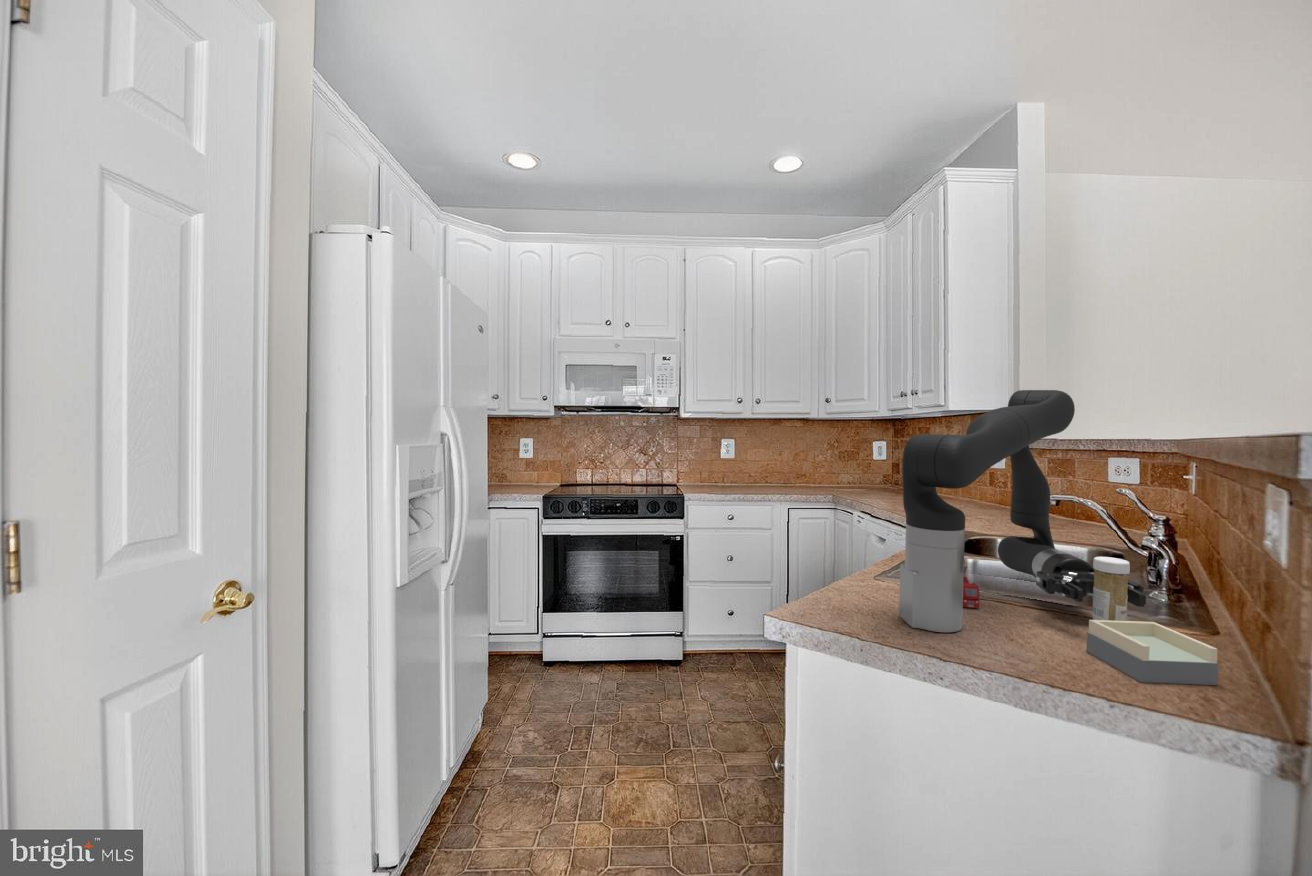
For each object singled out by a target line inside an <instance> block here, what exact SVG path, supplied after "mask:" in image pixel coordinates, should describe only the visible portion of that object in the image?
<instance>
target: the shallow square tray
mask: <svg viewBox="0 0 1312 876" xmlns="http://www.w3.org/2000/svg"><path fill="white" fill-rule="evenodd" d="M1218 651H1219V649H1218V648H1216V647H1215V646H1212V645H1209V644H1208V643H1204V642H1202V641H1200V640H1197V639H1195V638H1192V637H1190V636H1188V635H1186V634H1184V633H1181V632H1178V631H1176V630H1173V629H1171V628H1169V627H1167V626H1164V625H1162V624H1159V623H1157V622H1155V621H1136V620H1135V621H1134V620H1127V621H1112V620H1093V619H1089V620H1088V632H1087V634H1086V652H1087V654H1088V653H1089V654H1090V655H1092V656H1094V657H1095V658H1097V659H1099V660H1100V661H1102V662H1104V663H1106V664H1107V665H1110V666H1112V667H1114V668H1115V669H1116V670H1118V671H1120V672H1122V673H1123V674H1125V675H1127V676H1129V677H1130V678H1133V679H1134V680H1135V681H1138V682H1139V683H1149V684H1150V683H1152V684H1155V683H1156V684H1173V685H1174V684H1176V685H1177V684H1178V685H1179V684H1180V685H1202V686H1203V685H1204V686H1205V685H1206V686H1218V685H1219V684H1218V681H1219V680H1218V679H1219V663H1218Z"/></svg>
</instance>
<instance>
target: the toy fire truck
mask: <svg viewBox="0 0 1312 876" xmlns="http://www.w3.org/2000/svg"><path fill="white" fill-rule="evenodd" d="M967 570H968V563H967V560H966V559H965V558H964V575H965V574H966V572H967ZM963 607H965V608H973V609H978V608H980V589H979V585H977V584H976V583H975V581H974V582H972V583H970V582H969V579H968V577H967V576H964V577H963Z"/></svg>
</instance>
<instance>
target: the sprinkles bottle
mask: <svg viewBox="0 0 1312 876" xmlns="http://www.w3.org/2000/svg"><path fill="white" fill-rule="evenodd" d="M1092 563H1093V564H1092V567H1093V568H1094V572H1095V573H1094V587H1093V596H1092V620H1112V621H1128V601H1127V600H1128V595H1127V585H1128V583H1127V582H1128V580H1129V574H1130V572H1131V571H1130V569H1131V565H1130V561H1128V560H1125V559H1123V558H1117V557H1111V556H1110V557H1109V556H1096V557H1094V558H1093V562H1092Z"/></svg>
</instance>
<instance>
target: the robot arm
mask: <svg viewBox="0 0 1312 876" xmlns="http://www.w3.org/2000/svg"><path fill="white" fill-rule="evenodd" d="M1075 411H1076V410H1075V402H1074V400H1073V398H1072V397H1071V395H1070V394H1069V393H1067V392H1066V391H1062V390H1057V389H1044V390H1043V389H1020V390H1016V391H1015V392H1013V393H1012V395H1010V397H1009V400H1008V403H1007V406H1003V407H999V408H995V409H991V410H989V411H988V412H984V413H982V414H980V415H979V416H977V417H976V418H974V419H973V420H972V421H971V423H970V424H968V426H967V429H966V433H965V434H930V433H928V434H927V433H925V434H924V433H922V434H921V433H919V434H915V435H912V436H911V437H909V439H908V440H907V441H906V443H905V446H904V448H903V454H902V461H901V462H902V463H901V465H902V466H901V467H902V497H903V498H902V501H903V502H902V505H903V509H904V514H905V544H904V563H901V564H900V566H899V598H898V616H899V617H900V618H901V619H902V620H904V622H905V623H906V624H907V625H909V626H910V627H911V628H913V629H920V630H926V631H930V632H938V633H955V632H958V631H961V630H962V629H963V617H964V616H963V609H964V608H963V607H964V606H963V577H964V575H965V574H964V559H965V544H966V543H965V542H966V540H965V539H966V538H965V537H966V516H965V515H966V514H965V513H964V512H963V511H962V510H961V509H959V508H957V507H955V506H953V505H951V504H949V502H946V501H945V500H944V499H943V498H941V496H940V495H939V494H938V492H937V488H939V489H940V488H942V489H951V490H952V489H953V490H955V489H963V488H966V487H968V486H970V485H971V484H973V483H974V482H975V481H976V480H978V478H980V477H981V476H982V475H983V474H984V473H985V472H987V471H988V470H989V469H990V468H992V467H993V466H994V465H997V464H998V463H999V462H1001V461H1003V460H1004V459H1007V458H1010V466H1011V495H1010V497H1011V500H1010V515H1009V517H1010V522H1011V523H1012V524H1013V525H1015V526H1018V527H1021V528H1026V529H1029V530H1031V531H1032V533H1033V537H1030V536H1029V537H1028V536H1019V535H1018V536H1016V535H1013V536H1012V535H1010V536H1006V537H1004V538H1002V539H1001V541H1000V542H999V543H998V546H997V554H998V557H999V560H1000V562H1002V564H1004V566H1005V567H1007V568H1008V569H1011V570H1013V571H1016V572H1019V573H1023V574H1025V575H1026V574H1027V575H1030V576H1033V577H1034V578H1036V584H1035V585H1036V586H1037V587H1038V588H1040V589H1041V590H1042V591H1044V592H1045V593H1046V594H1049V595H1055V593H1058V594H1059V595H1060V596H1063V597H1065V598H1068V599H1072V600H1074V601H1075V602H1078V603H1082V602H1083V600H1084V598H1085V597H1088V596H1090V597H1091V596H1092V597H1093V587H1094V573H1095V572H1094V568H1093V565H1091V564H1090V563H1089V562H1088V561H1085V560H1083V559H1081V558H1079V557H1077V556H1075V555H1072V554H1071V553H1068V552H1066V551H1063V550H1058V549H1056V547H1055V544H1054V540H1053V537H1052V531H1051V526H1050V506H1051V505H1050V504H1051V489H1050V484H1049V482H1048V480H1047V478H1046V476H1045V475H1044V473H1043V471H1042V469H1041V467H1040V466H1039V464H1038V463H1037V461H1036V460H1035V458H1034V456H1033V453H1032V452H1031V451H1032V450H1031V448H1030V445H1032V444H1034V443H1036V442H1038V441H1039V440H1041V439H1044V438H1048V437H1050V436H1053V435H1057V434H1060V433H1062V432H1063V431H1065V430H1066V429H1067V428H1068V427H1069V426H1070V424H1071V423H1072V421H1073V419H1074V417H1075ZM1127 583H1128V585H1127V595H1128V600H1127V603H1130V604H1131V605H1134V606H1136V607H1138V608H1144V607H1145V605H1146V602H1147V595H1146V594H1145V593H1144V592H1145V591H1144V590H1145V585H1142V584H1139V583H1137V582H1134V581H1132V580H1130V579H1128V582H1127Z"/></svg>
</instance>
